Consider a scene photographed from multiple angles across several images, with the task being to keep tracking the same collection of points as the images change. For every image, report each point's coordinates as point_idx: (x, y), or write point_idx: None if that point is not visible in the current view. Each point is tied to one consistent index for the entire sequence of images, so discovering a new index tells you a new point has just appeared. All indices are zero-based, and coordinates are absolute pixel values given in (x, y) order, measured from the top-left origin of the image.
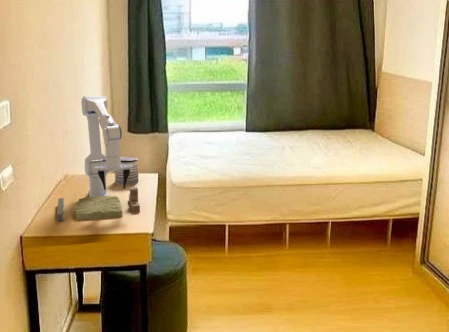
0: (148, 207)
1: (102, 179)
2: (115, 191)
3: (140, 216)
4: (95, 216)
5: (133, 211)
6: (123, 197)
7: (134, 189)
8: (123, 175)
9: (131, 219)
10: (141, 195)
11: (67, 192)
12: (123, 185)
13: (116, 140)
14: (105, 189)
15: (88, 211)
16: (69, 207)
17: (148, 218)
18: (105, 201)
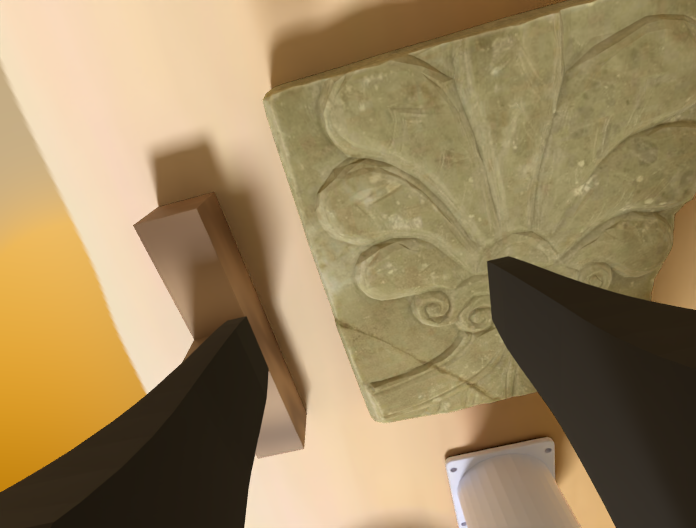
0: (132, 305)
1: (660, 316)
2: (412, 522)
3: (111, 97)
4: (505, 20)
5: (202, 196)
6: (351, 453)
7: None
8: (192, 524)
9: (163, 5)
10: (254, 485)
11: None
12: (240, 352)
13: None
14: (492, 260)
15: (589, 55)
16: (684, 281)
17: (13, 40)
18: (449, 309)
